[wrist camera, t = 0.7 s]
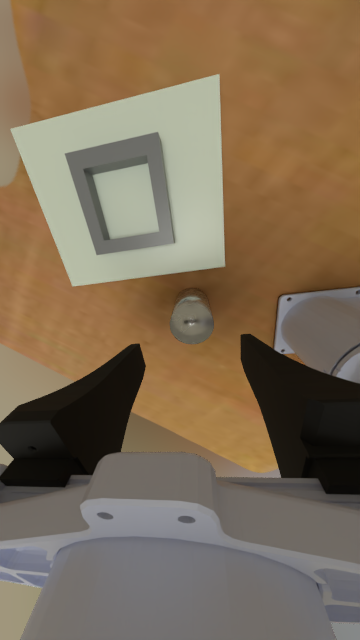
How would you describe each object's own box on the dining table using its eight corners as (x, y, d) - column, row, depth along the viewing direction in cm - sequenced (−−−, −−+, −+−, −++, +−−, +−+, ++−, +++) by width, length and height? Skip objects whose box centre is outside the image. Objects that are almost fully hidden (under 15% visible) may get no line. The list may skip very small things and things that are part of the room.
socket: (218, 79, 13) (222, 54, 12) (224, 266, 19) (227, 268, 17) (15, 132, 15) (-8, 118, 14) (75, 285, 21) (64, 289, 19)
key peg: (207, 285, 20) (212, 302, 15) (209, 317, 22) (214, 342, 16) (173, 289, 21) (166, 307, 15) (178, 320, 22) (173, 345, 17)
